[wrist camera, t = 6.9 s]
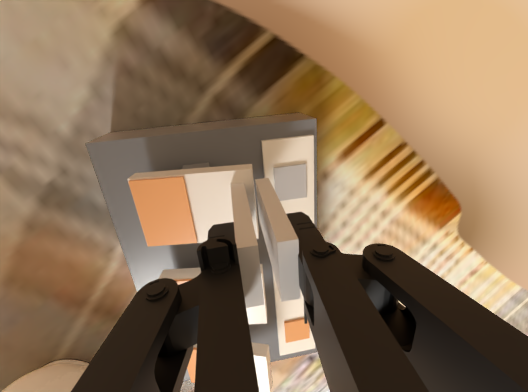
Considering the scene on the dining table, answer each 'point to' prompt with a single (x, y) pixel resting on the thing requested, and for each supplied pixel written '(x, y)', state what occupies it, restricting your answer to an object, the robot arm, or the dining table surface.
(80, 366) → the lidded jar
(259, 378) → the switch
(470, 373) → the robot arm
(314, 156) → the switch unit
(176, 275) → the switch
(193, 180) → the switch
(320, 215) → the dining table surface
